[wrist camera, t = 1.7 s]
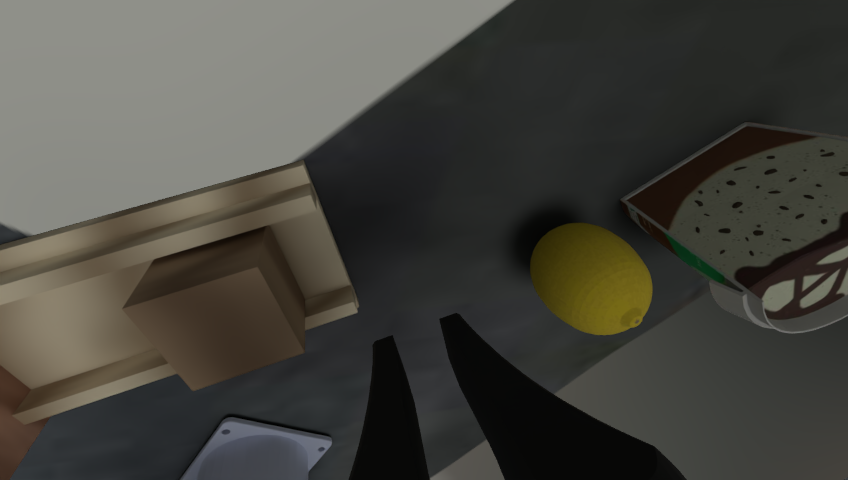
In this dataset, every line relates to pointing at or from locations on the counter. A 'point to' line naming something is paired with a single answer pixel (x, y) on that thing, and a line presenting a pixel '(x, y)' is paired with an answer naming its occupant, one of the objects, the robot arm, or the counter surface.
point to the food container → (759, 223)
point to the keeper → (221, 308)
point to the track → (116, 280)
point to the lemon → (591, 278)
